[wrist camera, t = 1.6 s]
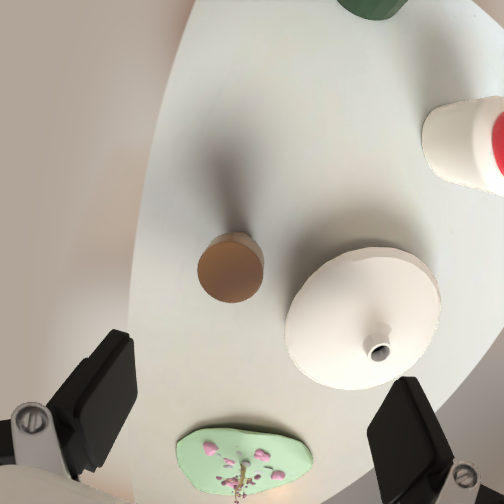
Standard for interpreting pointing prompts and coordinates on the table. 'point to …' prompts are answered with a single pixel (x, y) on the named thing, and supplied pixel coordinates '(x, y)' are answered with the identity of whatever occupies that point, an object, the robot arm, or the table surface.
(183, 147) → the table surface
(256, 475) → the plant
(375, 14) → the bottle
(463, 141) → the pill bottle
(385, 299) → the vase
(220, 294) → the stopper
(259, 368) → the table surface
